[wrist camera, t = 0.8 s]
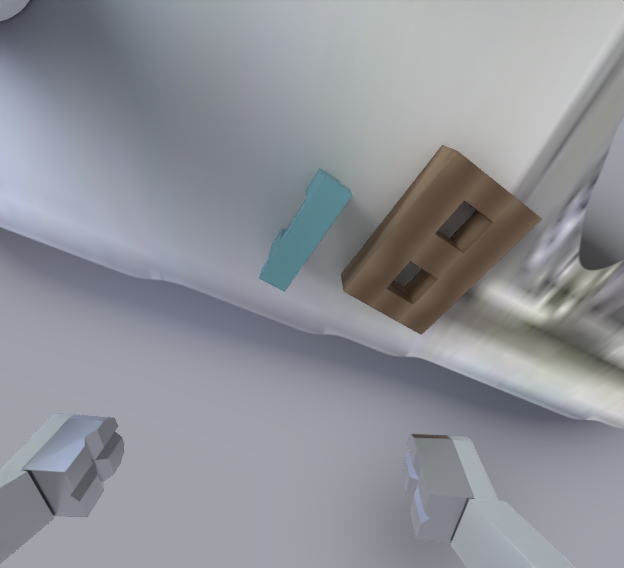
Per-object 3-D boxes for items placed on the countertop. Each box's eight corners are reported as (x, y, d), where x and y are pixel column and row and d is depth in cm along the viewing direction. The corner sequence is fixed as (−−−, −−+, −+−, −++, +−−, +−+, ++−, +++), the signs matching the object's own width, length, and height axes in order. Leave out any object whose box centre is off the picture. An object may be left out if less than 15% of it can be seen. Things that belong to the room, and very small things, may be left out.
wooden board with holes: (341, 274, 41) (343, 291, 37) (442, 145, 33) (457, 151, 30) (412, 316, 44) (421, 334, 41) (520, 207, 36) (542, 219, 33)
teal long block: (267, 249, 39) (259, 278, 33) (322, 161, 34) (324, 176, 28) (288, 261, 40) (284, 291, 34) (345, 177, 35) (352, 195, 29)
